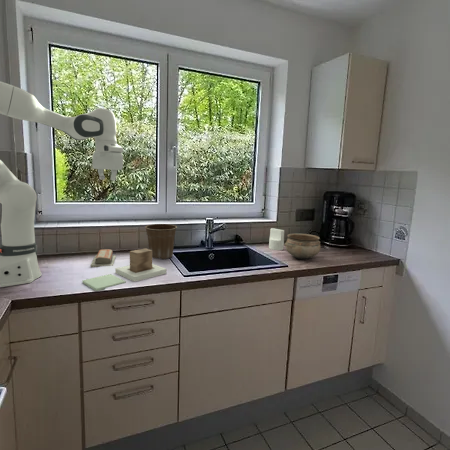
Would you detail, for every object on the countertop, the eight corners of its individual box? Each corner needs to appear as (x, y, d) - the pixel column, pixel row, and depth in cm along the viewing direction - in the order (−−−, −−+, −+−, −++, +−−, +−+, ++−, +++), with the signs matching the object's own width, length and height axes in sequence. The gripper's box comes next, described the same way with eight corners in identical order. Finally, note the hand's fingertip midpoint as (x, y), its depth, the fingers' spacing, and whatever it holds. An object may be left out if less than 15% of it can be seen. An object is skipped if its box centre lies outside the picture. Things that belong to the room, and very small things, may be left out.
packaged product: (95, 248, 161) (115, 248, 163) (95, 257, 162) (116, 257, 164) (89, 258, 144) (113, 257, 146) (90, 268, 144) (113, 267, 147)
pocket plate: (134, 282, 127) (134, 276, 127) (115, 273, 137) (115, 268, 137) (166, 274, 139) (166, 268, 139) (146, 266, 149) (146, 261, 148)
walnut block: (136, 276, 133) (136, 253, 132) (129, 273, 137) (129, 251, 135) (152, 272, 139) (152, 250, 138) (145, 269, 142) (145, 248, 141)
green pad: (96, 291, 117) (96, 288, 117) (82, 282, 125) (82, 280, 125) (125, 283, 126) (125, 281, 126) (110, 276, 134) (110, 273, 134)
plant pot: (162, 262, 157) (163, 230, 154) (138, 257, 164) (138, 226, 162) (182, 255, 171) (183, 226, 168) (159, 250, 178) (159, 222, 176)
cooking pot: (295, 265, 161) (297, 241, 159) (273, 255, 178) (274, 234, 176) (330, 260, 173) (332, 238, 171) (306, 252, 190) (308, 232, 187)
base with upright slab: (265, 247, 196) (266, 228, 194) (274, 246, 202) (276, 227, 200) (277, 250, 189) (278, 231, 187) (286, 248, 196) (287, 229, 194)
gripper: (88, 148, 142) (89, 179, 144) (111, 147, 129) (112, 181, 131) (101, 148, 147) (102, 178, 149) (125, 148, 134) (126, 180, 136)
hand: (107, 180), depth 140 cm, fingers open, 8 cm apart
